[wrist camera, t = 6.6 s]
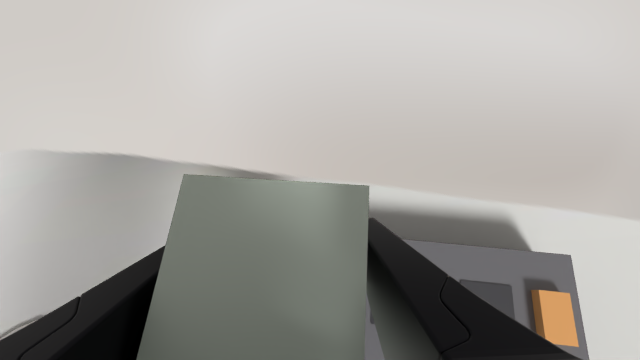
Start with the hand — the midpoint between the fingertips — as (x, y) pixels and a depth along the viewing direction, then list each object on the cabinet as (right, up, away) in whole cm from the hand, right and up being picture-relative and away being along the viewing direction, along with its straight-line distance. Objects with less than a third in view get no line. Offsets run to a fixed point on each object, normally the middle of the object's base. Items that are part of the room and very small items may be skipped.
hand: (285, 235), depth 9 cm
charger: (0, -4, +6) cm, 7 cm away
